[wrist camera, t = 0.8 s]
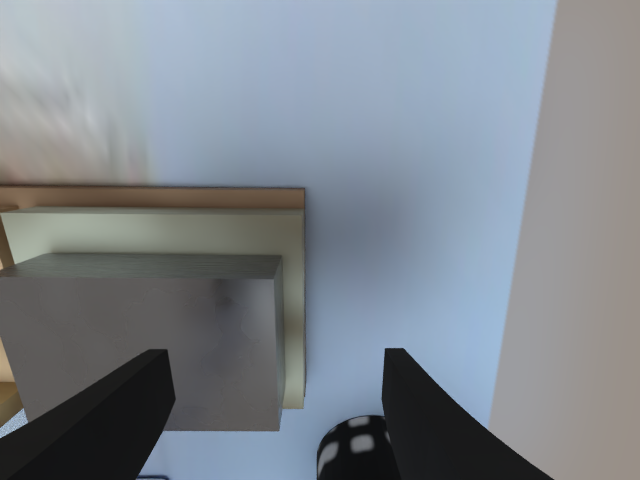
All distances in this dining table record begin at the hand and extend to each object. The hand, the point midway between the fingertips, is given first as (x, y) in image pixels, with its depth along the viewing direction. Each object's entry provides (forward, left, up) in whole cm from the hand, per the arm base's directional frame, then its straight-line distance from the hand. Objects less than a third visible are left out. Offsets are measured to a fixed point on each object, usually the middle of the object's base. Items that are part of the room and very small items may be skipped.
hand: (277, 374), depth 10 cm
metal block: (-2, +7, -6) cm, 9 cm away
